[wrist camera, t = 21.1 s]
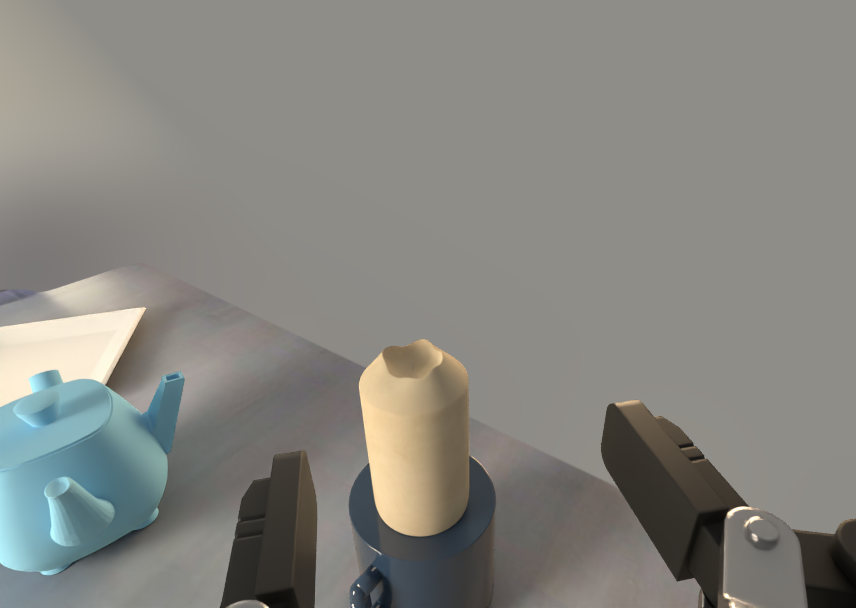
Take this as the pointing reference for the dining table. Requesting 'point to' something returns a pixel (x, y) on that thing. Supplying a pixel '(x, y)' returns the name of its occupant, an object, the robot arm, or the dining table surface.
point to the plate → (64, 349)
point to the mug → (424, 553)
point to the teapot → (79, 468)
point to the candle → (417, 437)
